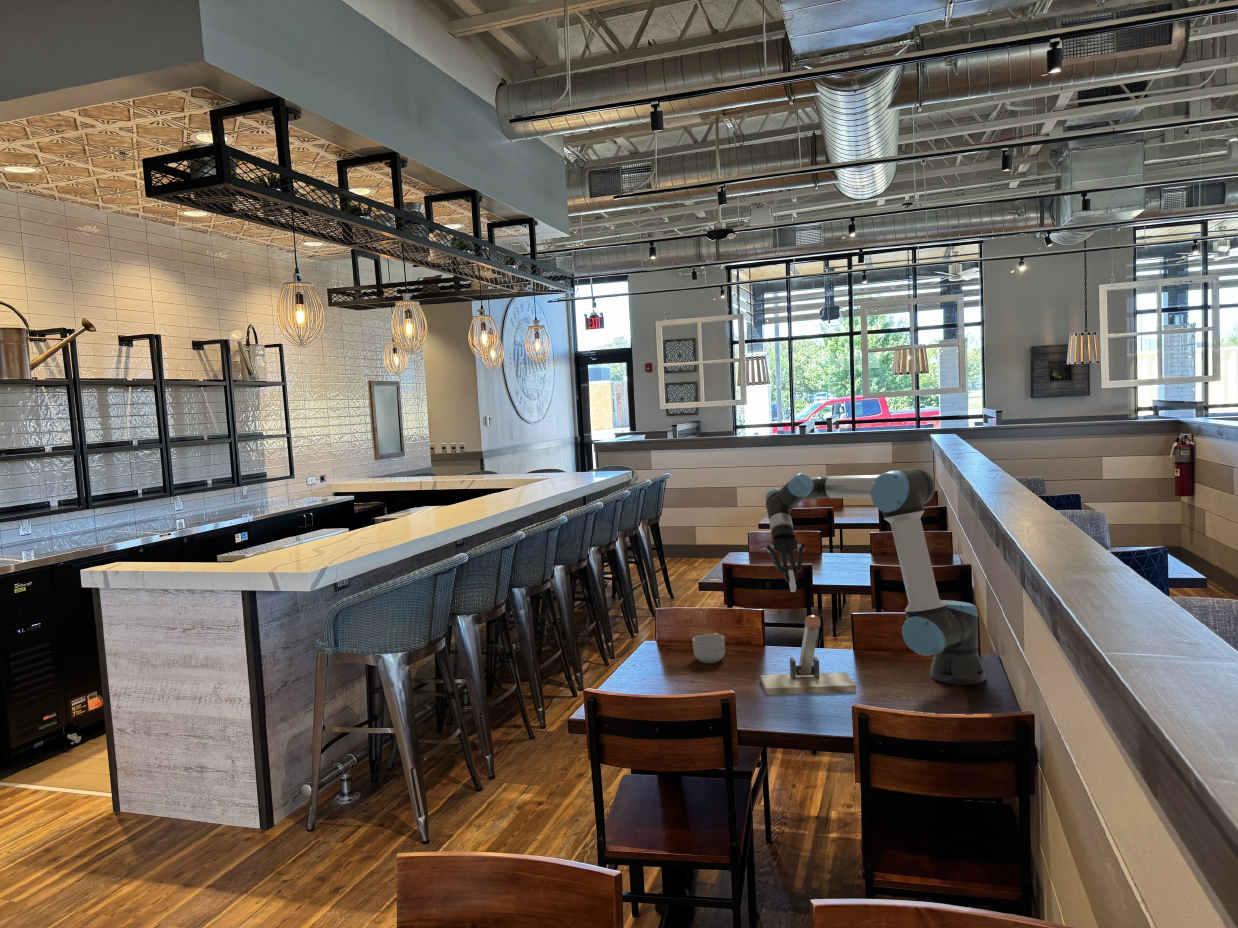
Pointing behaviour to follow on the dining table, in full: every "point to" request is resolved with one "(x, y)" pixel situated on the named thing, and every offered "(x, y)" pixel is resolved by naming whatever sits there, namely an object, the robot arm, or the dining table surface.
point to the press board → (807, 682)
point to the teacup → (709, 647)
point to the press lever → (808, 646)
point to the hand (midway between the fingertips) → (793, 589)
